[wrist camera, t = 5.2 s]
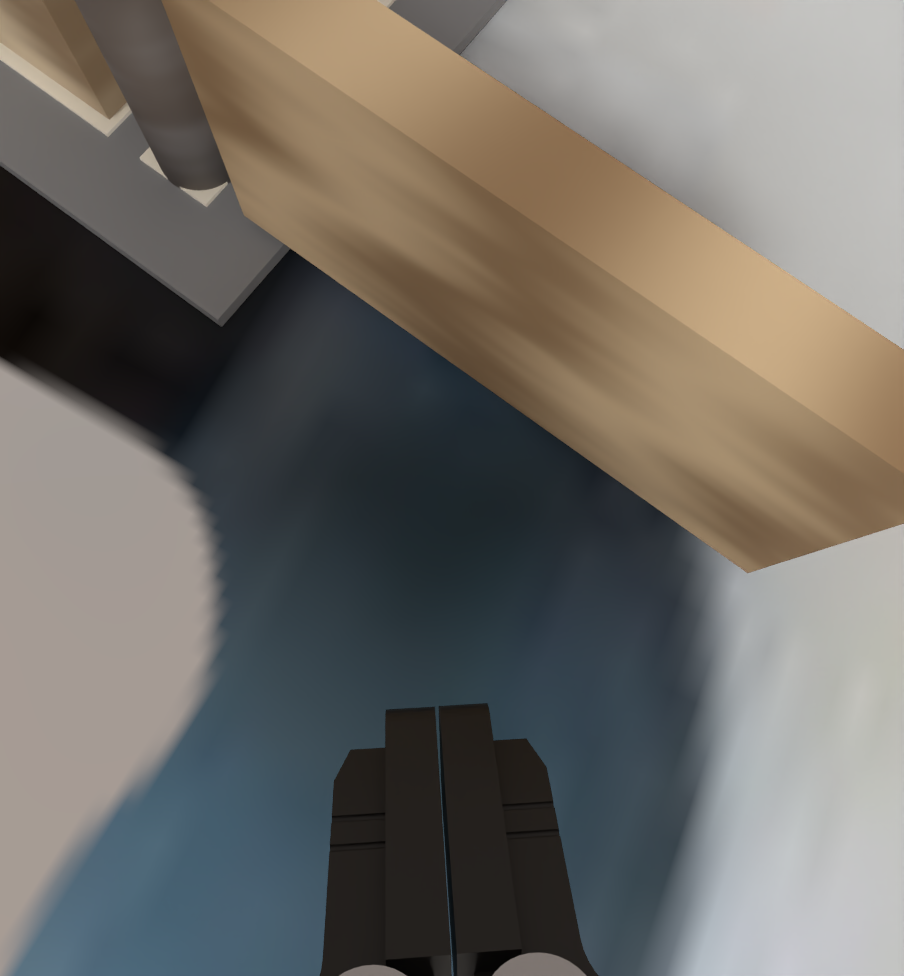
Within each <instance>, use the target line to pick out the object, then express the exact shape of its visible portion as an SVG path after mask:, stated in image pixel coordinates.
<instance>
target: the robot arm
mask: <svg viewBox="0 0 904 976" xmlns="http://www.w3.org/2000/svg"><path fill="white" fill-rule="evenodd" d="M439 731H440V762H441V787H442V806H443V822H444V837H445V852H446V867H447V882H448V897H449V912H450V927H451V942H452V957H453V972H454V976H598V975H597V973H596V972H595V971H594V969H593V968H592V966H591V964H590V963H589V961H588V959H587V957H586V955H585V952H584V950H583V946H582V943H581V939H580V934H579V929H578V924H577V919H576V914H575V909H574V904H573V899H572V894H571V889H570V884H569V879H568V874H567V869H566V864H565V859H564V853H563V848H562V843H561V838H560V836H559V828H558V823H557V818H556V813H555V808H554V806H553V798H552V793H551V788H550V783H549V778H548V773H547V768H546V766H545V764H544V763H543V762H542V760H541V759H540V757H539V756H538V755H537V753H536V752H535V750H534V749H533V747H532V746H531V745H530V743H529V742H528V740H527V739H512V740H496V741H493V735H492V727H491V720H490V713H489V707H488V704H487V703H483V704H467V705H450V706H439ZM320 976H451V949H450V933H449V918H448V903H447V887H446V872H445V857H444V841H443V826H442V810H441V795H440V780H439V764H438V749H437V734H436V718H435V707H422V708H405V709H389V710H386V721H385V748H373V749H357V750H350V752H349V754H348V756H347V758H346V760H345V761H344V763H343V765H342V767H341V769H340V771H339V773H338V775H337V777H336V778H335V780H334V790H333V806H332V823H331V838H330V854H329V870H328V886H327V902H326V918H325V934H324V950H323V962H322V969H321V973H320Z"/></svg>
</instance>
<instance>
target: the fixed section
mask: <svg viewBox="0 0 904 976" xmlns="http://www.w3.org/2000/svg"><path fill="white" fill-rule="evenodd" d="M0 43H2V44H3V45H5V46H6V47H7V48H9V49H10V50H12V51H13V52H15V53H16V54H17V55H19V56H20V57H22V58H23V59H24V60H26V61H27V62H29V63H30V64H31V65H33V66H34V67H36V68H37V69H38V70H40V71H41V72H43V73H44V74H45V75H47V76H48V77H50V78H51V79H53V80H54V81H55V82H57V83H58V84H60V85H61V86H62V87H64V88H65V89H67V90H68V91H69V92H71V93H72V94H74V95H75V96H76V97H78V98H79V99H81V100H82V101H84V102H85V103H86V104H88V105H89V106H91V107H92V108H93V109H95V110H96V111H98V112H99V113H100V114H102V115H103V116H105V117H106V118H107V119H109V120H110V119H111V118H112V117H113V116H114V115H115V114H116V113H117V112H118V111H119V110H120V109H121V108H122V107H123V106H124V105H125V103H126V102H127V103H128V105H129V107H130V109H131V111H132V113H133V115H134V117H135V119H136V121H137V123H138V125H139V127H140V129H141V131H142V133H143V135H144V137H145V139H146V141H147V143H148V145H149V146H150V148H151V150H152V152H153V154H154V156H155V158H156V160H157V162H158V164H159V166H160V168H161V170H162V172H163V173H164V175H165V176H166V177H167V179H168V180H169V181H170V182H171V183H172V184H173V185H175V186H176V187H178V188H180V187H182V188H185V189H189V190H198V191H199V190H209V189H213V188H216V187H218V186H221V185H222V184H224V183H226V182H228V184H229V183H230V182H231V180H230V178H229V175H228V173H227V170H226V167H225V165H224V162H223V159H222V157H221V154H220V152H219V149H218V146H217V144H216V141H215V139H214V136H213V133H212V131H211V128H210V126H209V123H208V120H207V118H206V115H205V113H204V110H203V107H202V105H201V102H200V99H199V97H198V94H197V92H196V89H195V86H194V84H193V81H192V79H191V76H190V73H189V71H188V68H187V66H186V63H185V60H184V58H183V55H182V53H181V50H180V47H179V45H178V42H177V40H176V37H175V34H174V32H173V29H172V26H171V24H170V21H169V19H168V16H167V13H166V11H165V8H164V6H163V3H162V0H0ZM180 189H181V188H180Z"/></svg>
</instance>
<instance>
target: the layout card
mask: <svg viewBox="0 0 904 976" xmlns="http://www.w3.org/2000/svg"><path fill="white" fill-rule="evenodd" d="M377 1H378V2H380V3H381V4H383V5H384V6H386V7H387V8H389V9H390V10H392V11H393V12H395V13H396V14H398V15H399V16H401V17H402V18H404V19H405V20H407V21H408V22H410V23H411V24H413V25H414V26H416V27H417V28H419V29H420V30H422V31H424V32H425V33H427V34H428V35H430V36H431V37H433V38H434V39H436V40H437V41H439V42H440V43H442V44H443V45H445V46H446V47H448V48H449V49H451V50H452V51H454V52H455V53H457V54H458V55H460V54H461V52H462V51H463V50H464V49H465V48H466V47H467V46H468V44H469V43H470V42H471V41H472V40H473V39H474V38H475V36H476V35H477V34H478V33H479V32H480V31H481V30H482V28H483V27H484V26H485V25H486V24H487V23H488V22H489V20H490V19H491V18H492V17H493V16H494V15H495V14H496V12H497V11H498V10H499V9H500V8H501V7H502V5H503V4H504V3H505V2H506V1H507V0H377ZM0 166H2V167H3V168H5V169H6V170H7V171H9V172H10V173H11V174H13V175H14V176H16V177H17V178H18V179H20V180H21V181H22V182H24V183H25V184H26V185H28V186H29V187H31V188H32V189H33V190H35V191H36V192H37V193H39V194H40V195H42V196H43V197H44V198H46V199H47V200H48V201H50V202H51V203H53V204H54V205H55V206H57V207H58V208H59V209H61V210H62V211H63V212H65V213H66V214H68V215H69V216H70V217H72V218H73V219H74V220H76V221H77V222H79V223H80V224H81V225H83V226H84V227H85V228H87V229H88V230H90V231H91V232H92V233H94V234H95V235H96V236H98V237H99V238H100V239H102V240H103V241H105V242H106V243H107V244H109V245H110V246H111V247H113V248H114V249H116V250H117V251H118V252H120V253H121V254H122V255H124V256H125V257H126V258H128V259H129V260H131V261H132V262H133V263H135V264H136V265H137V266H139V267H140V268H142V269H143V270H144V271H146V272H147V273H148V274H150V275H151V276H153V277H154V278H155V279H157V280H158V281H159V282H161V283H162V284H163V285H165V286H166V287H168V288H169V289H170V290H172V291H173V292H174V293H176V294H177V295H179V296H180V297H181V298H183V299H184V300H185V301H187V302H188V303H190V304H191V305H192V306H194V307H195V308H196V309H198V310H199V311H200V312H202V313H203V314H205V315H206V316H207V317H209V318H210V319H211V320H213V321H214V322H216V323H217V324H218V325H220V326H221V327H222V326H223V325H224V324H225V323H226V322H227V321H228V319H229V318H230V317H231V316H232V315H233V314H234V313H235V311H236V310H237V309H238V308H239V307H240V306H241V304H242V303H243V302H244V301H245V300H246V299H247V298H248V296H249V295H250V294H251V293H252V292H253V291H254V290H255V288H256V287H257V286H258V285H259V284H260V283H261V282H262V280H263V279H264V278H265V277H266V276H267V275H268V274H269V272H270V271H271V270H272V269H273V268H274V267H275V266H276V264H277V263H278V262H279V261H280V260H281V259H282V258H283V256H284V255H285V254H286V253H287V252H288V251H289V250H290V248H289V247H288V246H286V245H285V244H283V243H282V242H281V241H279V240H278V239H276V238H275V237H274V236H272V235H271V234H269V233H268V232H267V231H265V230H264V229H262V228H261V227H260V226H258V225H257V224H255V223H254V222H253V221H251V220H250V219H248V218H247V217H245V216H244V214H243V212H242V209H241V206H240V204H239V201H238V199H237V196H236V193H235V191H234V188H233V186H232V183H231V182H230V183H229V184H228V182H226V183H224V184H222V185H221V186H218V187H216V188H213V189H209V190H199V191H198V190H189V189H185V188H182V187H180V188H181V189H180V188H178V187H176V186H175V185H173V184H172V183H171V182H170V181H169V180H168V179H167V177H166V176H165V175H164V173H163V172H162V170H161V168H160V166H159V164H158V162H157V160H156V158H155V156H154V154H153V152H152V150H151V148H150V146H149V145H148V143H147V141H146V139H145V137H144V135H143V133H142V131H141V129H140V127H139V125H138V123H137V121H136V119H135V117H134V115H133V113H132V111H131V109H130V107H129V105H128V103H127V102H126V103H125V105H124V106H123V107H122V108H121V109H120V110H119V111H118V112H117V113H116V114H115V115H114V116H113V117H112V118H111V119H110V120H109V119H107V118H106V117H105V116H103V115H102V114H100V113H99V112H98V111H96V110H95V109H93V108H92V107H91V106H89V105H88V104H86V103H85V102H84V101H82V100H81V99H79V98H78V97H76V96H75V95H74V94H72V93H71V92H69V91H68V90H67V89H65V88H64V87H62V86H61V85H60V84H58V83H57V82H55V81H54V80H53V79H51V78H50V77H48V76H47V75H45V74H44V73H43V72H41V71H40V70H38V69H37V68H36V67H34V66H33V65H31V64H30V63H29V62H27V61H26V60H24V59H23V58H22V57H20V56H19V55H17V54H16V53H15V52H13V51H12V50H10V49H9V48H7V47H6V46H5V45H3V44H2V43H0Z"/></svg>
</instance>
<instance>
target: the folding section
mask: <svg viewBox="0 0 904 976" xmlns="http://www.w3.org/2000/svg"><path fill="white" fill-rule="evenodd" d="M162 3H163V6H164V8H165V11H166V13H167V16H168V19H169V21H170V24H171V26H172V29H173V32H174V34H175V37H176V40H177V42H178V45H179V47H180V50H181V53H182V55H183V58H184V60H185V63H186V66H187V68H188V71H189V73H190V76H191V79H192V81H193V84H194V86H195V89H196V92H197V94H198V97H199V99H200V102H201V105H202V107H203V110H204V113H205V115H206V118H207V120H208V123H209V126H210V128H211V131H212V133H213V136H214V139H215V141H216V144H217V146H218V149H219V152H220V154H221V157H222V159H223V162H224V165H225V167H226V170H227V173H228V175H229V178H230V180H231V183H232V186H233V188H234V191H235V193H236V196H237V199H238V201H239V204H240V206H241V209H242V212H243V214H244V216H245V217H247V218H248V219H250V220H251V221H253V222H254V223H255V224H257V225H258V226H260V227H261V228H262V229H264V230H265V231H267V232H268V233H269V234H271V235H272V236H274V237H275V238H276V239H278V240H279V241H281V242H282V243H283V244H285V245H286V246H288V247H289V248H291V249H292V250H293V251H295V252H296V253H298V254H299V255H300V256H302V257H303V258H305V259H306V260H307V261H309V262H310V263H312V264H313V265H314V266H316V267H317V268H319V269H320V270H322V271H323V272H324V273H326V274H327V275H329V276H330V277H331V278H333V279H334V280H336V281H337V282H338V283H340V284H341V285H343V286H344V287H345V288H347V289H348V290H350V291H351V292H352V293H354V294H355V295H357V296H358V297H360V298H361V299H362V300H364V301H365V302H367V303H368V304H369V305H371V306H372V307H374V308H375V309H376V310H378V311H379V312H381V313H382V314H383V315H385V316H386V317H388V318H389V319H391V320H392V321H393V322H395V323H396V324H398V325H399V326H400V327H402V328H403V329H405V330H406V331H407V332H409V333H410V334H412V335H413V336H414V337H416V338H417V339H419V340H420V341H422V342H423V343H424V344H426V345H427V346H429V347H430V348H431V349H433V350H434V351H436V352H437V353H438V354H440V355H441V356H443V357H444V358H445V359H447V360H448V361H450V362H451V363H452V364H454V365H455V366H457V367H458V368H460V369H461V370H462V371H464V372H465V373H467V374H468V375H469V376H471V377H472V378H474V379H475V380H476V381H478V382H479V383H481V384H482V385H483V386H485V387H486V388H488V389H489V390H491V391H492V392H493V393H495V394H496V395H498V396H499V397H500V398H502V399H503V400H505V401H506V402H507V403H509V404H510V405H512V406H513V407H514V408H516V409H517V410H519V411H520V412H521V413H523V414H524V415H526V416H527V417H529V418H530V419H531V420H533V421H534V422H536V423H537V424H538V425H540V426H541V427H543V428H544V429H545V430H547V431H548V432H550V433H551V434H552V435H554V436H555V437H557V438H558V439H560V440H561V441H562V442H564V443H565V444H567V445H568V446H569V447H571V448H572V449H574V450H575V451H576V452H578V453H579V454H581V455H582V456H583V457H585V458H586V459H588V460H589V461H590V462H592V463H593V464H595V465H596V466H598V467H599V468H600V469H602V470H603V471H605V472H606V473H607V474H609V475H610V476H612V477H613V478H614V479H616V480H617V481H619V482H620V483H621V484H623V485H624V486H626V487H627V488H629V489H630V490H631V491H633V492H634V493H636V494H637V495H638V496H640V497H641V498H643V499H644V500H645V501H647V502H648V503H650V504H651V505H652V506H654V507H655V508H657V509H658V510H659V511H661V512H662V513H664V514H665V515H667V516H668V517H669V518H671V519H672V520H674V521H675V522H676V523H678V524H679V525H681V526H682V527H683V528H685V529H686V530H688V531H689V532H690V533H692V534H693V535H695V536H696V537H698V538H699V539H700V540H702V541H703V542H705V543H706V544H707V545H709V546H710V547H712V548H713V549H714V550H716V551H717V552H719V553H720V554H721V555H723V556H724V557H726V558H727V559H728V560H730V561H731V562H733V563H734V564H736V565H737V566H738V567H740V568H741V569H743V570H744V571H745V572H747V573H749V572H752V571H756V570H759V569H762V568H765V567H768V566H771V565H774V564H778V563H781V562H784V561H787V560H790V559H793V558H797V557H800V556H803V555H806V554H809V553H812V552H816V551H819V550H822V549H825V548H828V547H831V546H834V545H838V544H841V543H844V542H847V541H850V540H853V539H857V538H860V537H863V536H866V535H869V534H872V533H876V532H879V531H882V530H885V529H888V528H891V527H895V526H898V525H901V524H904V350H903V349H902V348H900V347H899V346H897V345H896V344H894V343H893V342H891V341H890V340H888V339H887V338H885V337H884V336H882V335H881V334H879V333H878V332H876V331H875V330H873V329H872V328H870V327H869V326H867V325H866V324H864V323H862V322H861V321H859V320H858V319H856V318H855V317H853V316H852V315H850V314H849V313H847V312H846V311H844V310H843V309H841V308H840V307H838V306H837V305H835V304H834V303H832V302H831V301H829V300H828V299H826V298H825V297H823V296H822V295H820V294H819V293H817V292H816V291H814V290H813V289H811V288H810V287H808V286H807V285H805V284H804V283H802V282H801V281H799V280H798V279H796V278H795V277H793V276H792V275H790V274H789V273H787V272H786V271H784V270H783V269H781V268H780V267H778V266H777V265H775V264H773V263H772V262H770V261H769V260H767V259H766V258H764V257H763V256H761V255H760V254H758V253H757V252H755V251H754V250H752V249H751V248H749V247H748V246H746V245H745V244H743V243H742V242H740V241H739V240H737V239H736V238H734V237H733V236H731V235H730V234H728V233H727V232H725V231H724V230H722V229H721V228H719V227H718V226H716V225H715V224H713V223H712V222H710V221H709V220H707V219H706V218H704V217H703V216H701V215H700V214H698V213H697V212H695V211H694V210H692V209H691V208H689V207H687V206H686V205H684V204H683V203H681V202H680V201H678V200H677V199H675V198H674V197H672V196H671V195H669V194H668V193H666V192H665V191H663V190H662V189H660V188H659V187H657V186H656V185H654V184H653V183H651V182H650V181H648V180H647V179H645V178H644V177H642V176H641V175H639V174H638V173H636V172H635V171H633V170H632V169H630V168H629V167H627V166H626V165H624V164H623V163H621V162H620V161H618V160H617V159H615V158H614V157H612V156H611V155H609V154H608V153H606V152H605V151H603V150H602V149H600V148H598V147H597V146H595V145H594V144H592V143H591V142H589V141H588V140H586V139H585V138H583V137H582V136H580V135H579V134H577V133H576V132H574V131H573V130H571V129H570V128H568V127H567V126H565V125H564V124H562V123H561V122H559V121H558V120H556V119H555V118H553V117H552V116H550V115H549V114H547V113H546V112H544V111H543V110H541V109H540V108H538V107H537V106H535V105H534V104H532V103H531V102H529V101H528V100H526V99H525V98H523V97H522V96H520V95H519V94H517V93H516V92H514V91H513V90H511V89H509V88H508V87H506V86H505V85H503V84H502V83H500V82H499V81H497V80H496V79H494V78H493V77H491V76H490V75H488V74H487V73H485V72H484V71H482V70H481V69H479V68H478V67H476V66H475V65H473V64H472V63H470V62H469V61H467V60H466V59H464V58H463V57H461V56H460V55H458V54H457V53H455V52H454V51H452V50H451V49H449V48H448V47H446V46H445V45H443V44H442V43H440V42H439V41H437V40H436V39H434V38H433V37H431V36H430V35H428V34H427V33H425V32H424V31H422V30H420V29H419V28H417V27H416V26H414V25H413V24H411V23H410V22H408V21H407V20H405V19H404V18H402V17H401V16H399V15H398V14H396V13H395V12H393V11H392V10H390V9H389V8H387V7H386V6H384V5H383V4H381V3H380V2H378V1H377V0H162Z"/></svg>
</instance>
